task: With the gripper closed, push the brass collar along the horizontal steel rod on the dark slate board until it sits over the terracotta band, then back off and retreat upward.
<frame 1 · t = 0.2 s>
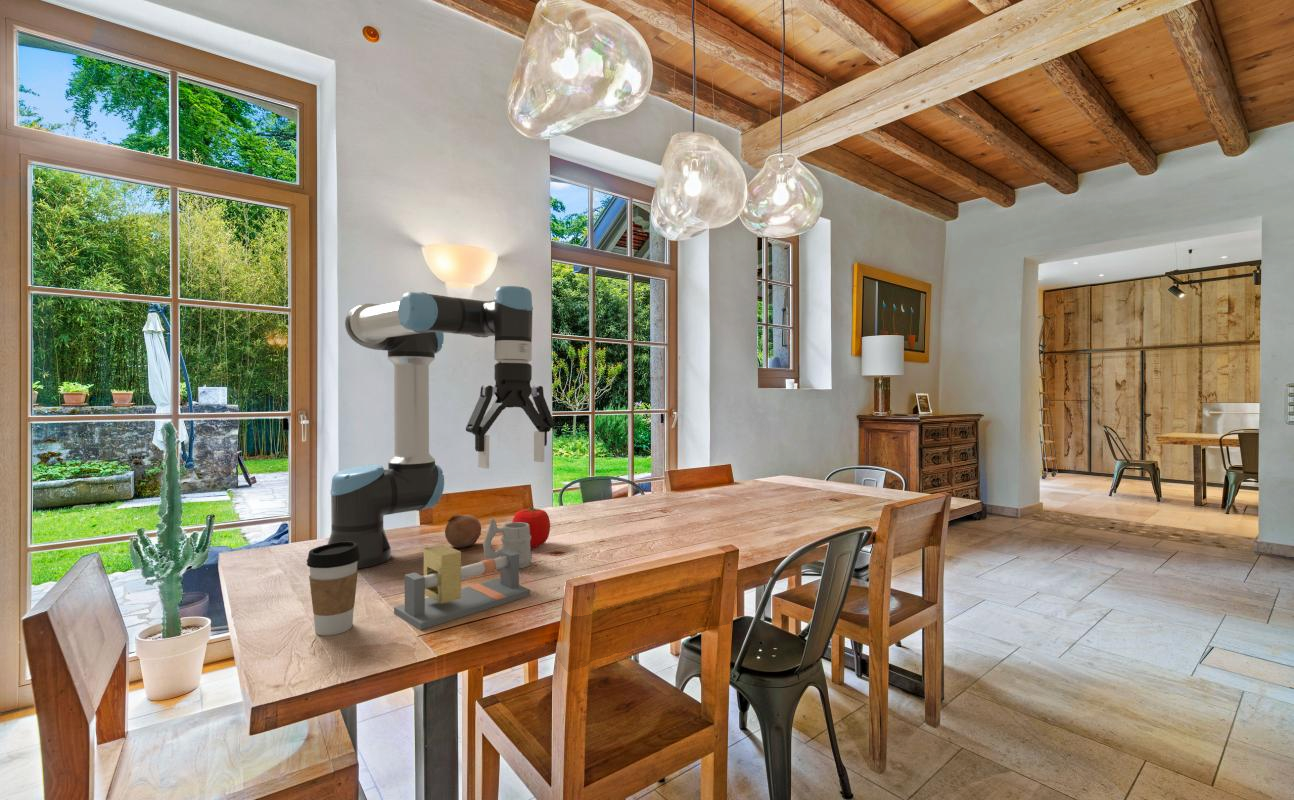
hand: (512, 464, 118), 28 cm above the table, fingers open, 13 cm apart
red round fruit: (530, 547, 157), on the table
mug: (507, 566, 140), on the table
coffee cup: (334, 629, 103), on the table
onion: (463, 547, 157), on the table
rail: (465, 603, 115), on the table
collar: (442, 573, 111), point 7 cm above the table, slide at 0.0 cm
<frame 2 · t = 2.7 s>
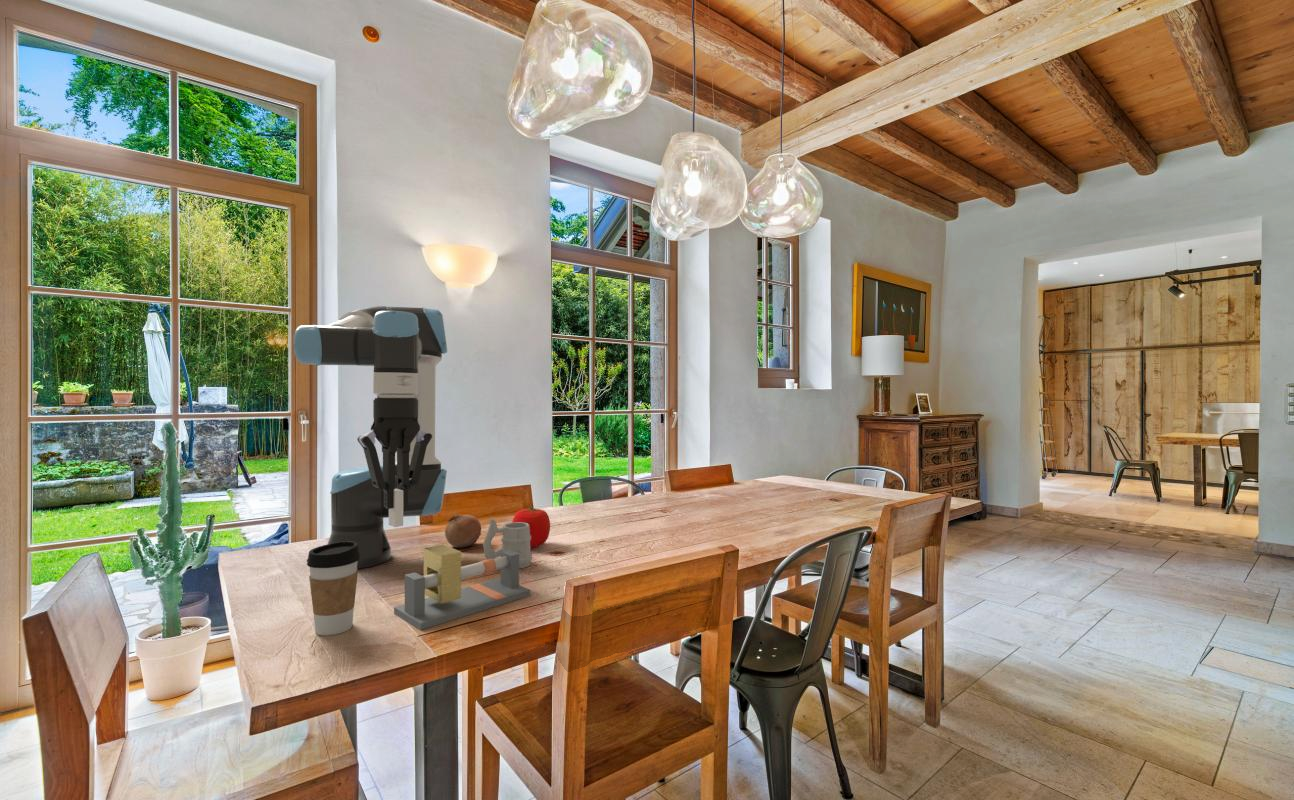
hand: (395, 525, 104), 19 cm above the table, fingers closed
nothing on the table moved.
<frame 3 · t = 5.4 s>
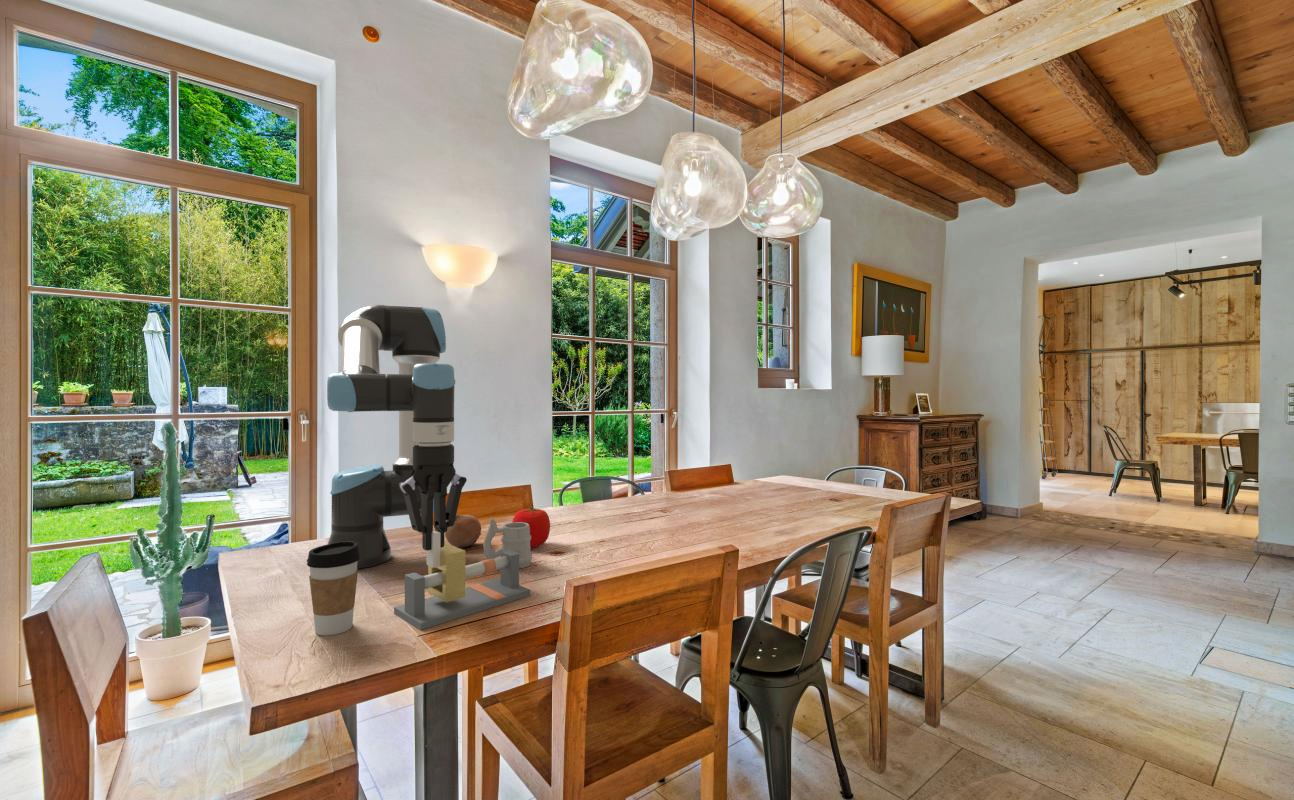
hand: (433, 565, 110), 9 cm above the table, fingers closed
collar: (446, 572, 112), point 7 cm above the table, slide at 1.0 cm, touching gripper
everything else where it was.
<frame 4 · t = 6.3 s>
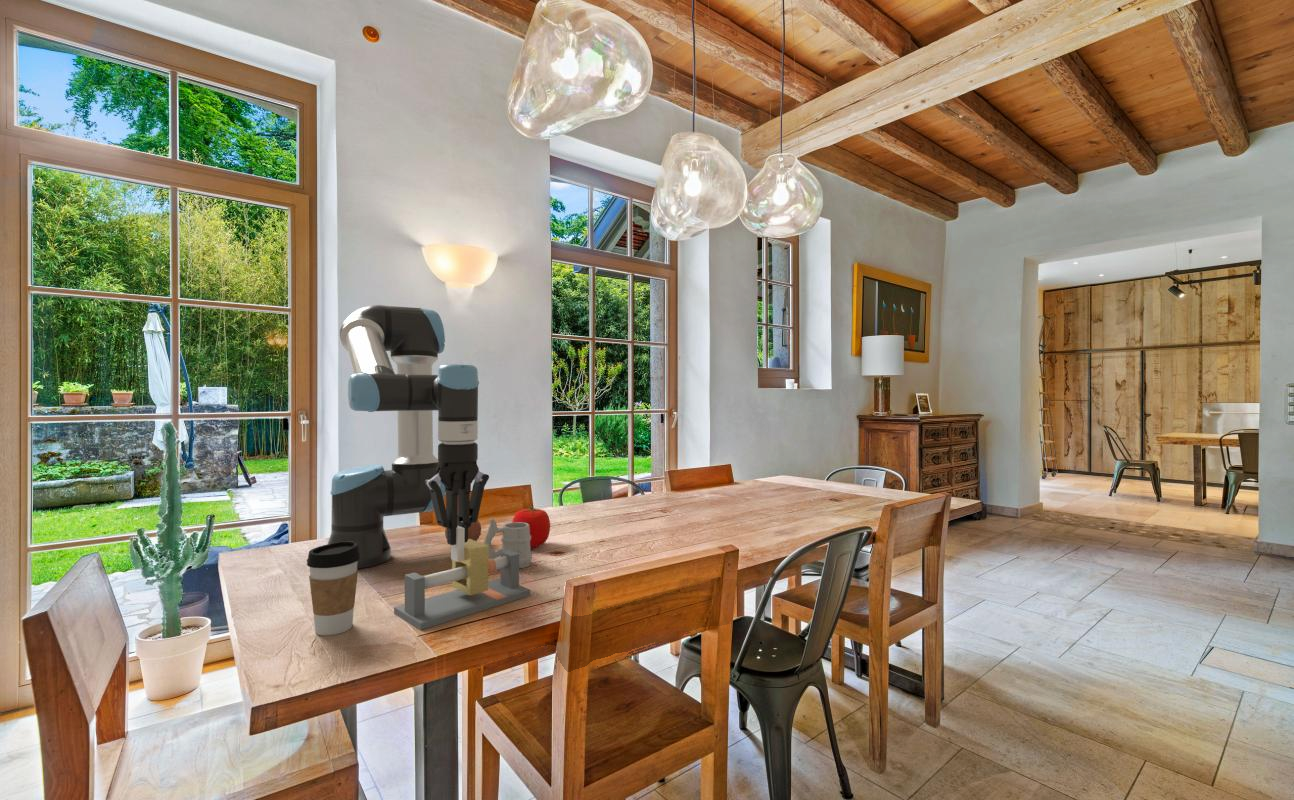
hand: (457, 559, 114), 9 cm above the table, fingers closed
collar: (470, 566, 116), point 7 cm above the table, slide at 6.0 cm, touching gripper
everything else where it was.
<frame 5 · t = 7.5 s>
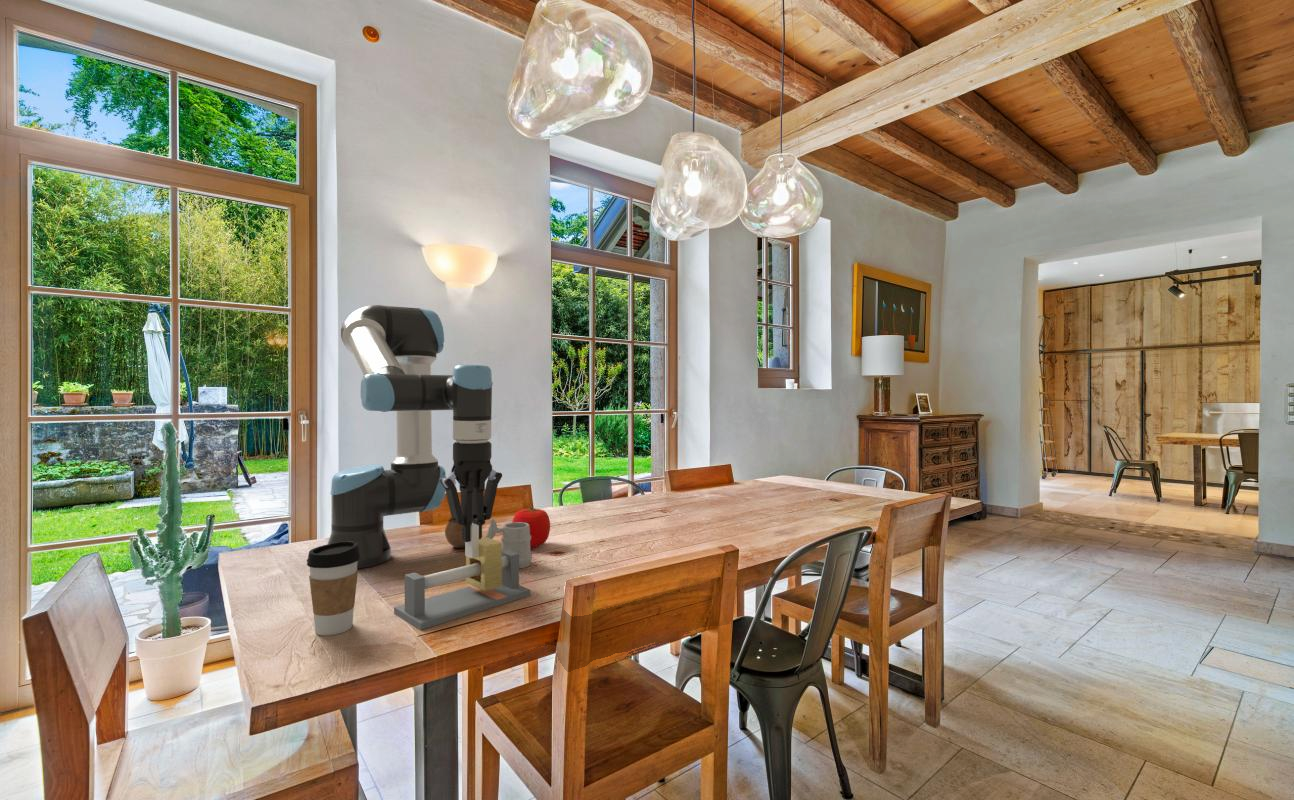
hand: (471, 556, 116), 9 cm above the table, fingers closed
collar: (483, 562, 118), point 7 cm above the table, slide at 9.2 cm, touching gripper
everything else where it was.
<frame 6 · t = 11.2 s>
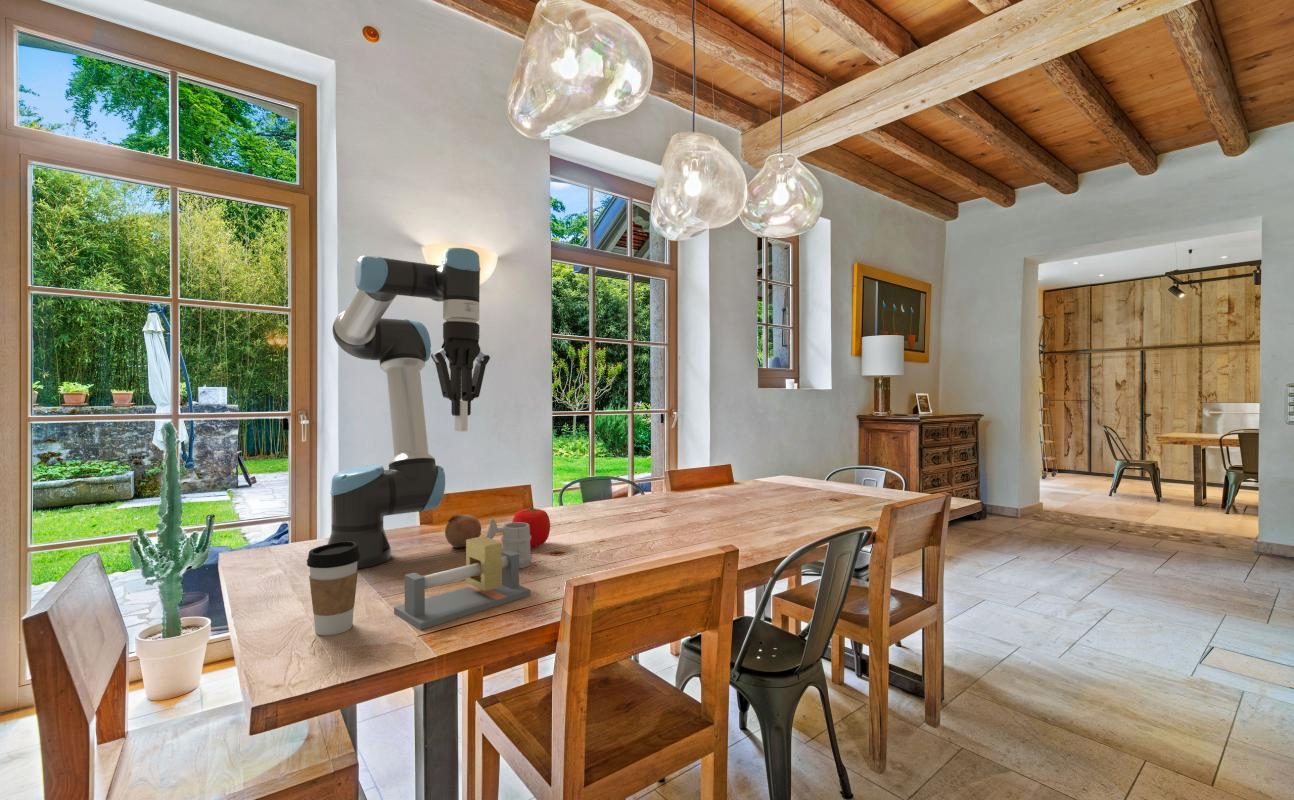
hand: (461, 430, 124), 34 cm above the table, fingers closed
collar: (483, 562, 118), point 7 cm above the table, slide at 9.2 cm
everything else where it was.
at the end: collar slide at 9.2 cm; the gripper is holding nothing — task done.
